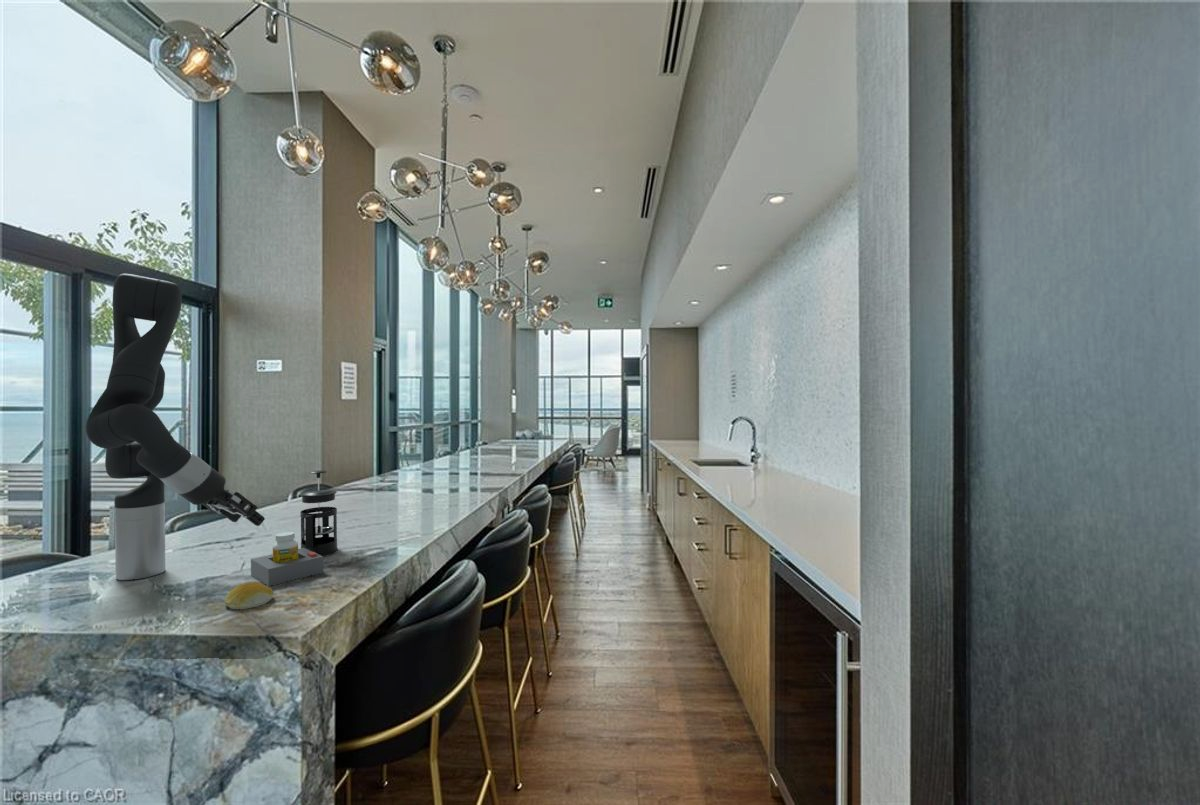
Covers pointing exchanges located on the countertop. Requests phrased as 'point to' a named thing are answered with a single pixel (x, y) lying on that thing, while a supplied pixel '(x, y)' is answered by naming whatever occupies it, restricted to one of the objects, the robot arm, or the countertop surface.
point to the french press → (308, 528)
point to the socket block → (286, 567)
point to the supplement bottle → (285, 548)
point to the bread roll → (248, 596)
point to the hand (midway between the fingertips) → (249, 520)
